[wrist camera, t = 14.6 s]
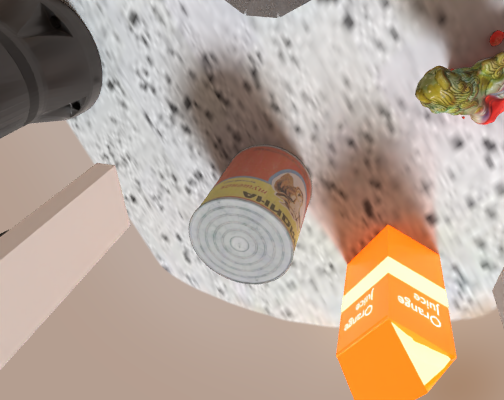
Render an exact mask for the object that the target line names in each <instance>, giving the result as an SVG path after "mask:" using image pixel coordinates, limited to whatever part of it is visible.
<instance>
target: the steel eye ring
mask: <svg viewBox="0 0 504 400" xmlns="http://www.w3.org/2000/svg"><path fill="white" fill-rule="evenodd" d="M225 1H227V2H228V3H229V4H231V5H232V6H233V7H235V8H236V9H237V10H239V11H240V12H241V13H243V14H245V13H246V15H249V16H261V17H273V18H277V17H279V16H280V17H281V16H283V15H285V14H287V13H289V12H290V11H292V10H294V9H296V8H298V7H300V6H301V5H303V4H305V3H307V2H309V1H310V0H225Z"/></svg>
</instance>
